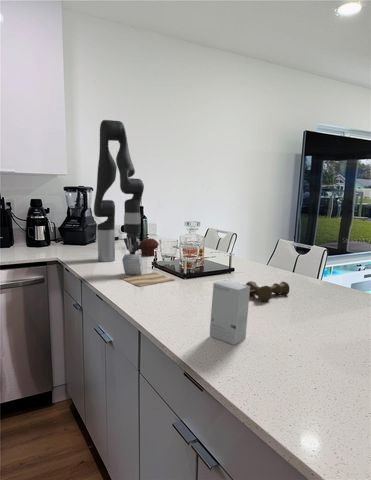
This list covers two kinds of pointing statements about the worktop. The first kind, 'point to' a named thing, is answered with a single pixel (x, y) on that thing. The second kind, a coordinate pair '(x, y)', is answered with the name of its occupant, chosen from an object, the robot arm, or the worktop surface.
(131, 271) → the medicine box
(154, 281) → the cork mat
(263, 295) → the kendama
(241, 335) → the skincare box
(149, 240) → the muffin
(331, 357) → the worktop surface
